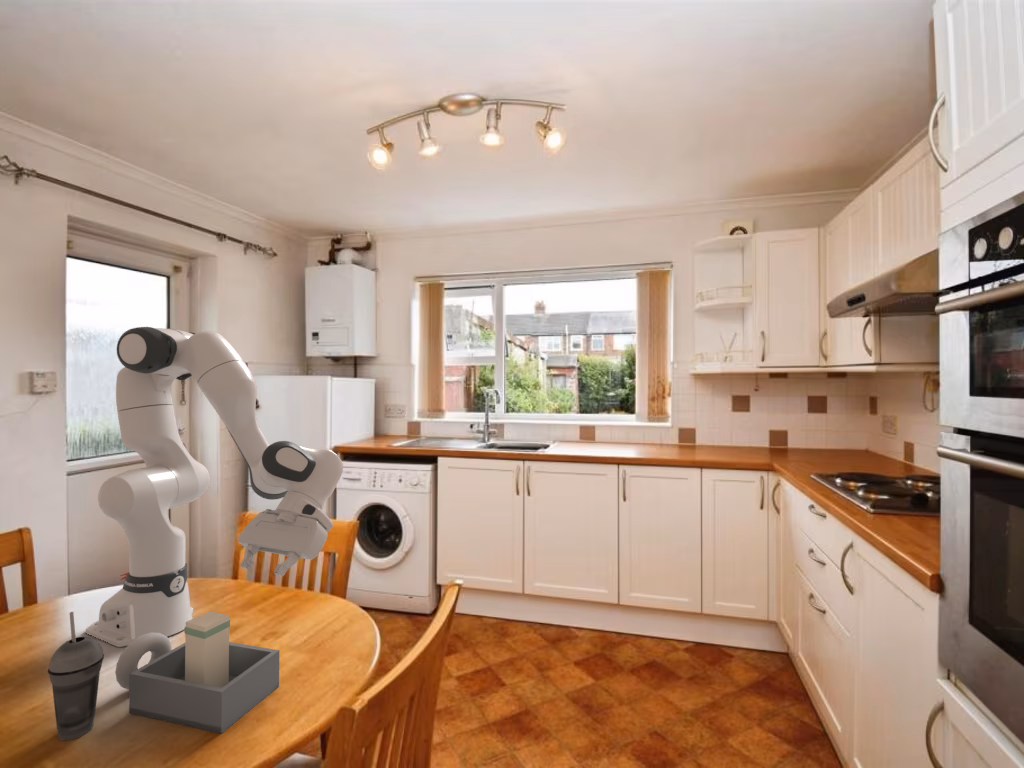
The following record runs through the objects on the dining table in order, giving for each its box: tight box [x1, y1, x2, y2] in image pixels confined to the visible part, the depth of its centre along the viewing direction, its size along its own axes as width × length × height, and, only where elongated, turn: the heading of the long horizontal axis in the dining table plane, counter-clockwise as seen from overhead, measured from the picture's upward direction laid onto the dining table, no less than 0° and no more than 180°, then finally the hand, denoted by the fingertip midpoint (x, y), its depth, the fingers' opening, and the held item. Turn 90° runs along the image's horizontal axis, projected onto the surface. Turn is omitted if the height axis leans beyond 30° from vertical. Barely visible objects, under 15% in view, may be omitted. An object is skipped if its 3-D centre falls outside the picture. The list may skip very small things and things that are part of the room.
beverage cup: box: [47, 611, 105, 741], centre depth 86 cm, size 7×7×20 cm
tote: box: [128, 641, 280, 734], centre depth 95 cm, size 20×14×7 cm
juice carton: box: [184, 610, 231, 688], centre depth 95 cm, size 5×5×14 cm
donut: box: [114, 632, 173, 690], centre depth 99 cm, size 10×4×10 cm, turn 159°
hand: (260, 571), depth 106 cm, fingers open, 8 cm apart
